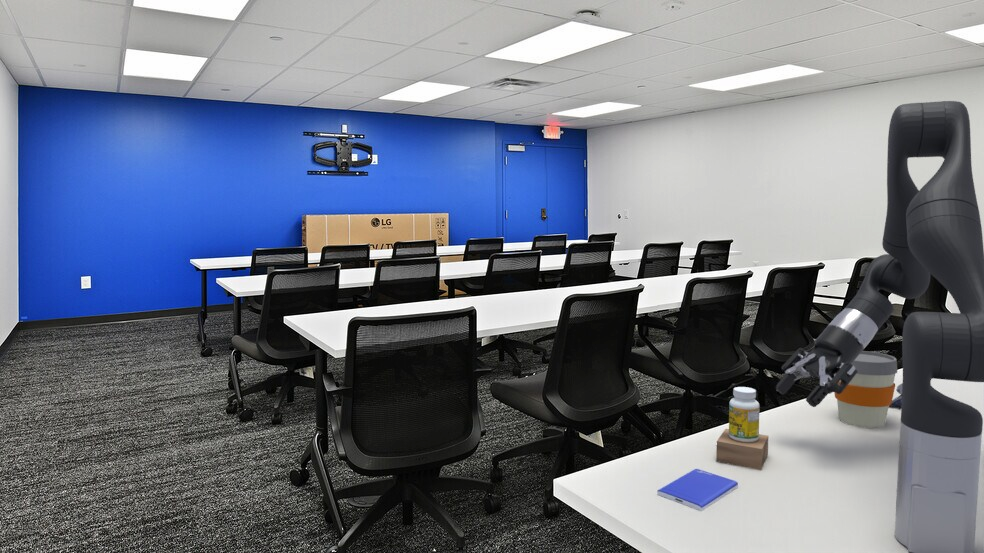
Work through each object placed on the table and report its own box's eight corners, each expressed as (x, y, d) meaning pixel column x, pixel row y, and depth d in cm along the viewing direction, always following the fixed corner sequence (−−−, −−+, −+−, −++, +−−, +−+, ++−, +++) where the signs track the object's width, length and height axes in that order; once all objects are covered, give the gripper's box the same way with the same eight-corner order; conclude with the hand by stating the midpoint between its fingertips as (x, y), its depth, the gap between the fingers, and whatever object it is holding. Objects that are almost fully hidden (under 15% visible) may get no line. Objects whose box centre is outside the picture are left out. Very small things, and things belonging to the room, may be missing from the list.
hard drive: (694, 467, 113) (657, 488, 104) (738, 481, 107) (701, 505, 98) (694, 475, 113) (657, 497, 104) (737, 490, 107) (701, 514, 98)
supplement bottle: (764, 441, 117) (766, 391, 116) (741, 444, 116) (743, 394, 115) (745, 431, 122) (746, 384, 121) (722, 434, 121) (723, 387, 120)
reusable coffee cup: (908, 426, 136) (911, 359, 134) (867, 434, 131) (871, 365, 130) (855, 409, 147) (858, 348, 146) (817, 416, 143) (819, 353, 141)
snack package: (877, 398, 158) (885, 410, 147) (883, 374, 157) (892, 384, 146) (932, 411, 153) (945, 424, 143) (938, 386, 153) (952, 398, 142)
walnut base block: (761, 470, 114) (761, 449, 113) (716, 461, 118) (716, 441, 117) (767, 455, 120) (768, 435, 120) (725, 447, 125) (725, 428, 124)
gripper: (809, 318, 128) (758, 376, 126) (864, 330, 114) (809, 395, 112) (829, 342, 129) (780, 399, 128) (887, 356, 116) (832, 421, 114)
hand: (794, 397), depth 120 cm, fingers open, 8 cm apart
